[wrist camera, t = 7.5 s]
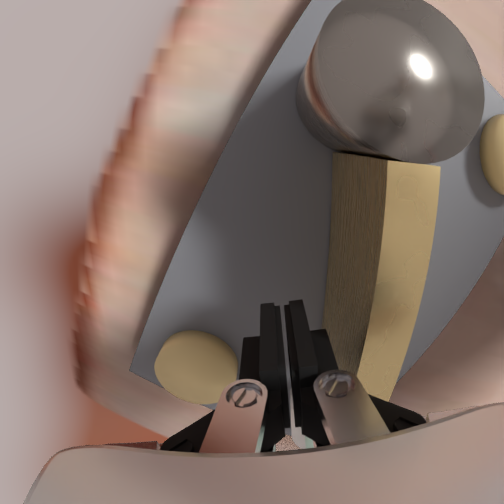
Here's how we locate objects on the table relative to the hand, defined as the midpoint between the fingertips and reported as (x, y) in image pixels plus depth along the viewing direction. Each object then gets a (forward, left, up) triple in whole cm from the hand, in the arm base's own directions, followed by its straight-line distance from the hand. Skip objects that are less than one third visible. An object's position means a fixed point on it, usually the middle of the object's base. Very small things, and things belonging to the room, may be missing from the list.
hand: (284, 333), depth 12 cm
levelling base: (-3, +3, -6) cm, 7 cm away
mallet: (-10, -2, -4) cm, 11 cm away
